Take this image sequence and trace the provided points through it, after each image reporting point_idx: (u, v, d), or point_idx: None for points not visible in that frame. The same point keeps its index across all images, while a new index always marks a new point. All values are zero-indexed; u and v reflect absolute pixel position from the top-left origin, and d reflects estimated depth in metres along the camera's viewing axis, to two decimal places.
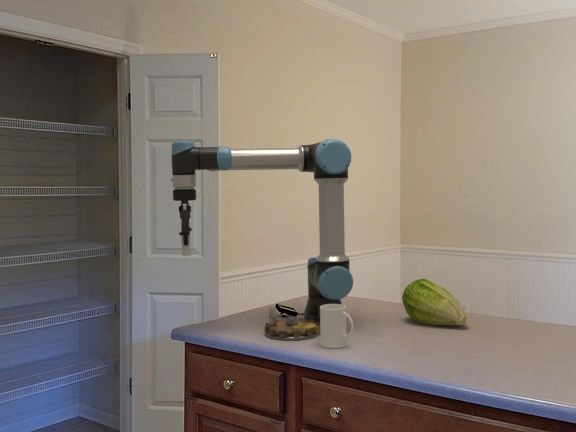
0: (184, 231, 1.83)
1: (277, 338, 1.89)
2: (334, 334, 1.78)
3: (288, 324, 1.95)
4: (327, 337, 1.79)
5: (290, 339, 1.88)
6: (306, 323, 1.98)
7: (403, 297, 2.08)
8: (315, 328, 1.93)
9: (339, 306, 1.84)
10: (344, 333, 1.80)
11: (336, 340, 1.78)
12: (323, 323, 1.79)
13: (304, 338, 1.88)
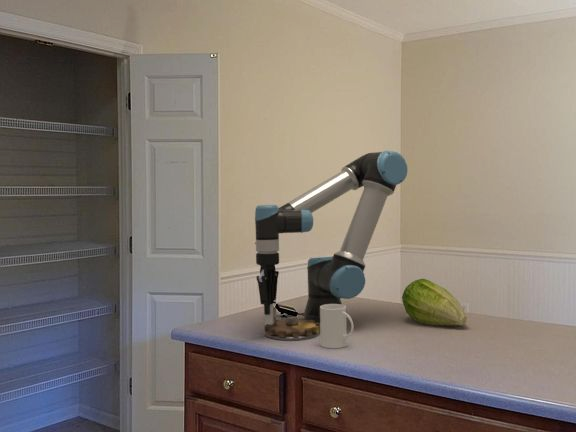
0: (263, 301, 1.89)
1: (277, 338, 1.89)
2: (334, 334, 1.78)
3: (288, 324, 1.95)
4: (327, 337, 1.79)
5: (290, 339, 1.88)
6: (306, 323, 1.97)
7: (403, 297, 2.08)
8: (315, 328, 1.93)
9: (339, 306, 1.84)
10: (344, 333, 1.80)
11: (336, 340, 1.78)
12: (323, 323, 1.79)
13: (304, 338, 1.88)
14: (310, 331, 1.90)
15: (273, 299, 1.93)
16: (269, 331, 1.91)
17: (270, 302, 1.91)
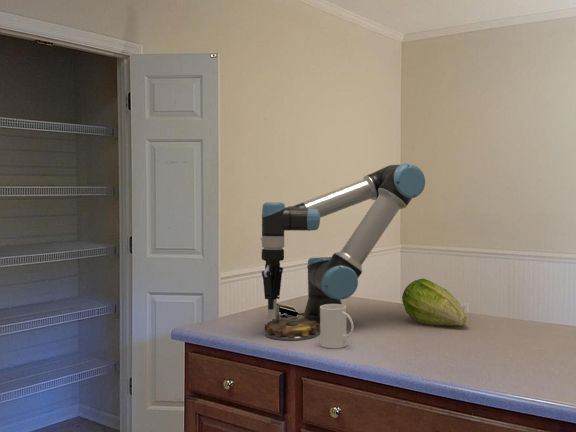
0: (267, 296, 1.94)
1: (277, 338, 1.89)
2: (334, 334, 1.78)
3: (286, 323, 1.96)
4: (327, 337, 1.79)
5: (290, 339, 1.88)
6: (305, 326, 1.94)
7: (403, 297, 2.08)
8: (302, 331, 1.89)
9: (339, 306, 1.84)
10: (344, 333, 1.80)
11: (336, 340, 1.78)
12: (323, 323, 1.79)
13: (304, 338, 1.88)
14: (292, 333, 1.88)
15: (277, 294, 1.98)
16: None
17: (274, 297, 1.95)
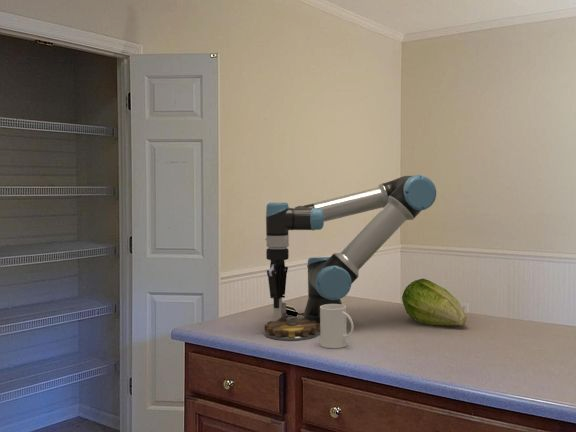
0: (272, 295, 1.96)
1: (277, 338, 1.89)
2: (334, 334, 1.78)
3: None
4: (327, 337, 1.79)
5: (290, 339, 1.88)
6: (299, 327, 1.92)
7: (403, 297, 2.08)
8: (288, 332, 1.88)
9: (339, 306, 1.84)
10: (344, 333, 1.80)
11: (336, 340, 1.78)
12: (323, 323, 1.79)
13: (304, 338, 1.88)
14: (278, 332, 1.89)
15: (282, 293, 2.00)
16: None
17: (279, 296, 1.98)
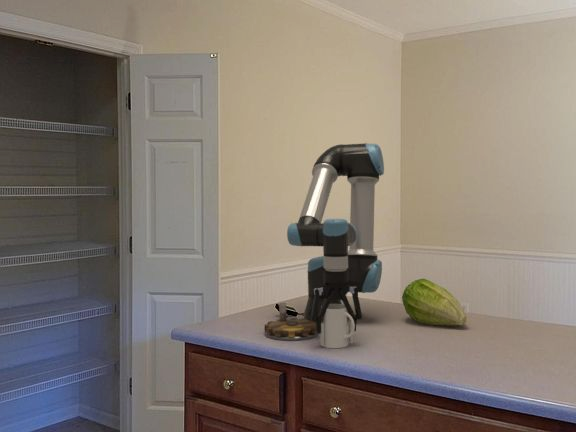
0: (311, 318, 1.79)
1: (277, 338, 1.89)
2: (335, 334, 1.78)
3: None
4: (328, 337, 1.78)
5: (290, 339, 1.88)
6: (299, 327, 1.92)
7: (403, 297, 2.08)
8: None
9: (340, 306, 1.84)
10: (345, 333, 1.80)
11: (337, 339, 1.78)
12: (325, 323, 1.79)
13: (304, 338, 1.88)
14: (278, 332, 1.89)
15: (354, 317, 1.80)
16: None
17: (319, 320, 1.78)
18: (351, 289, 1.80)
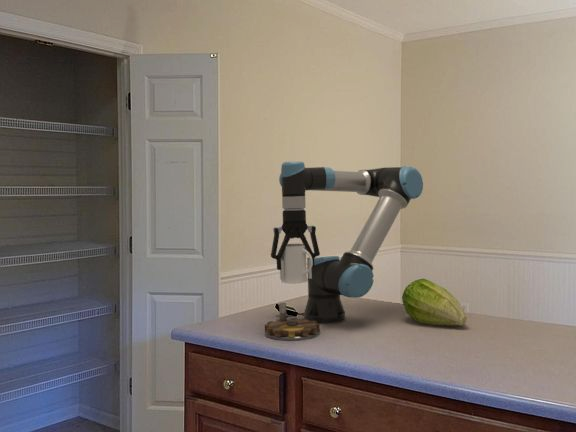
0: (271, 255, 1.90)
1: (277, 338, 1.89)
2: (294, 270, 1.88)
3: None
4: (288, 273, 1.89)
5: (290, 339, 1.88)
6: (299, 327, 1.92)
7: (403, 297, 2.08)
8: None
9: (299, 245, 1.95)
10: (304, 269, 1.90)
11: (296, 275, 1.89)
12: (284, 260, 1.89)
13: (304, 338, 1.88)
14: (278, 332, 1.89)
15: (312, 254, 1.91)
16: None
17: (279, 257, 1.88)
18: (309, 228, 1.91)
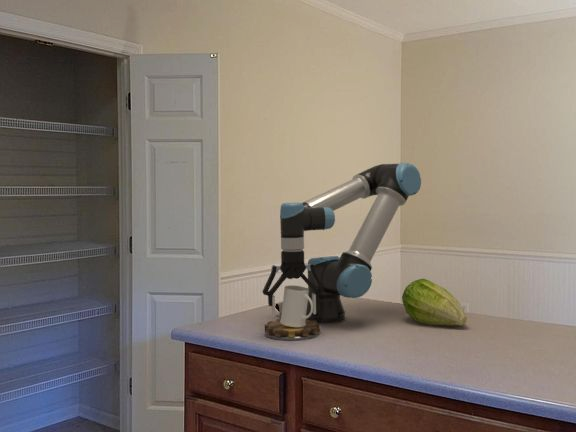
0: None
1: (277, 338, 1.89)
2: (294, 314, 1.90)
3: None
4: (287, 316, 1.90)
5: (290, 339, 1.88)
6: (299, 327, 1.92)
7: (403, 297, 2.08)
8: None
9: (303, 289, 1.96)
10: (303, 314, 1.91)
11: (295, 319, 1.90)
12: (285, 302, 1.91)
13: (304, 338, 1.88)
14: (278, 332, 1.89)
15: (316, 290, 1.92)
16: None
17: (270, 294, 1.90)
18: (307, 267, 1.92)
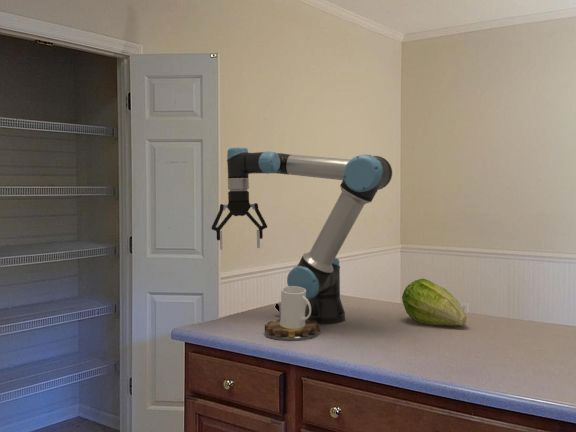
0: (211, 227, 2.13)
1: (277, 338, 1.89)
2: (293, 316, 1.89)
3: None
4: (286, 318, 1.90)
5: (290, 339, 1.88)
6: None
7: (403, 297, 2.08)
8: None
9: (300, 289, 1.95)
10: (302, 315, 1.91)
11: (294, 321, 1.90)
12: (283, 305, 1.90)
13: (304, 338, 1.88)
14: (278, 332, 1.89)
15: (260, 226, 2.14)
16: None
17: (218, 229, 2.12)
18: (252, 206, 2.14)
